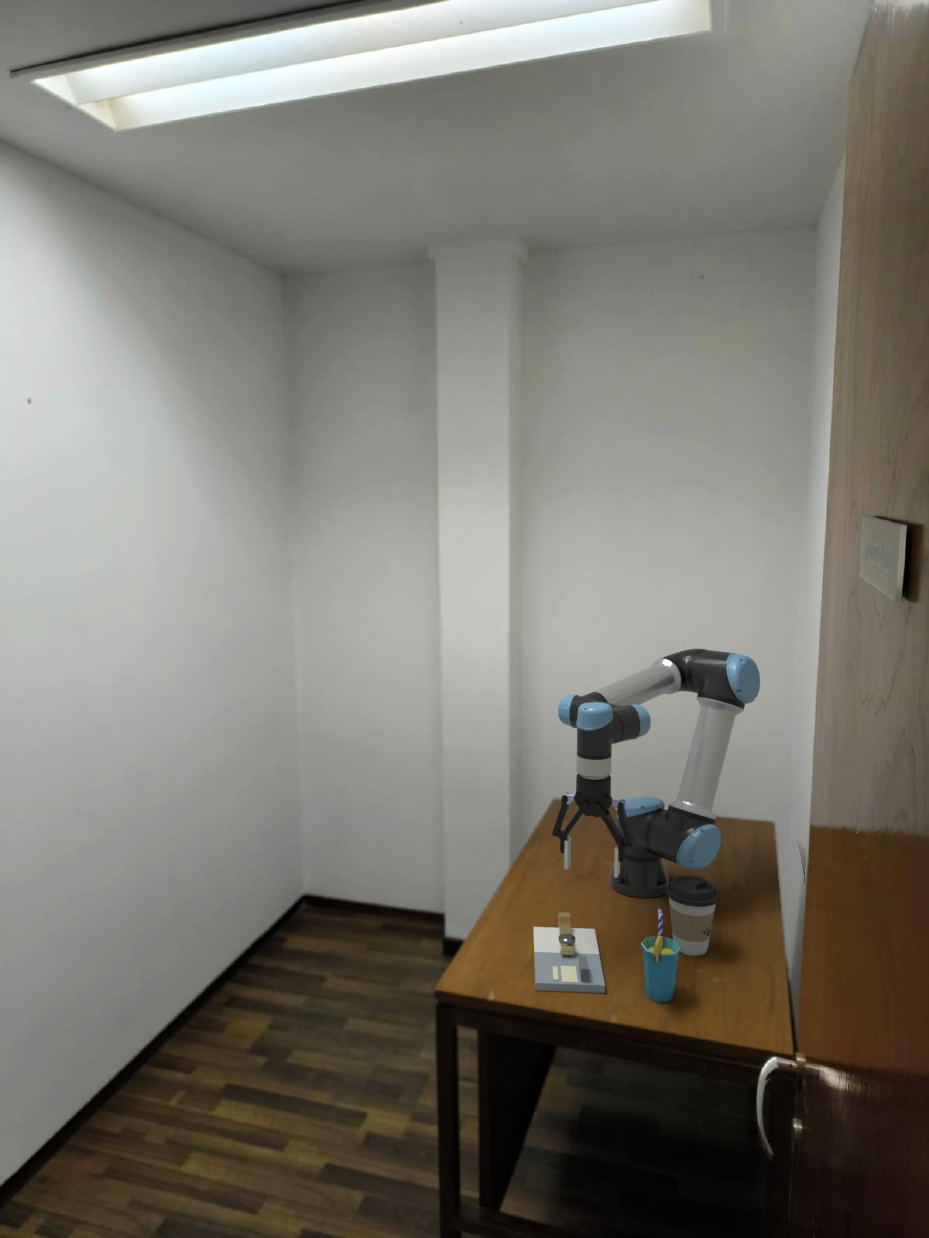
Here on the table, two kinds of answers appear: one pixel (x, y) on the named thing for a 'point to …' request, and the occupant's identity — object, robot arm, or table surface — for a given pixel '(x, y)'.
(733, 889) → the table surface
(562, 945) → the latch bar
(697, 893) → the coffee cup
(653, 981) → the cup
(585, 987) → the door fixture
